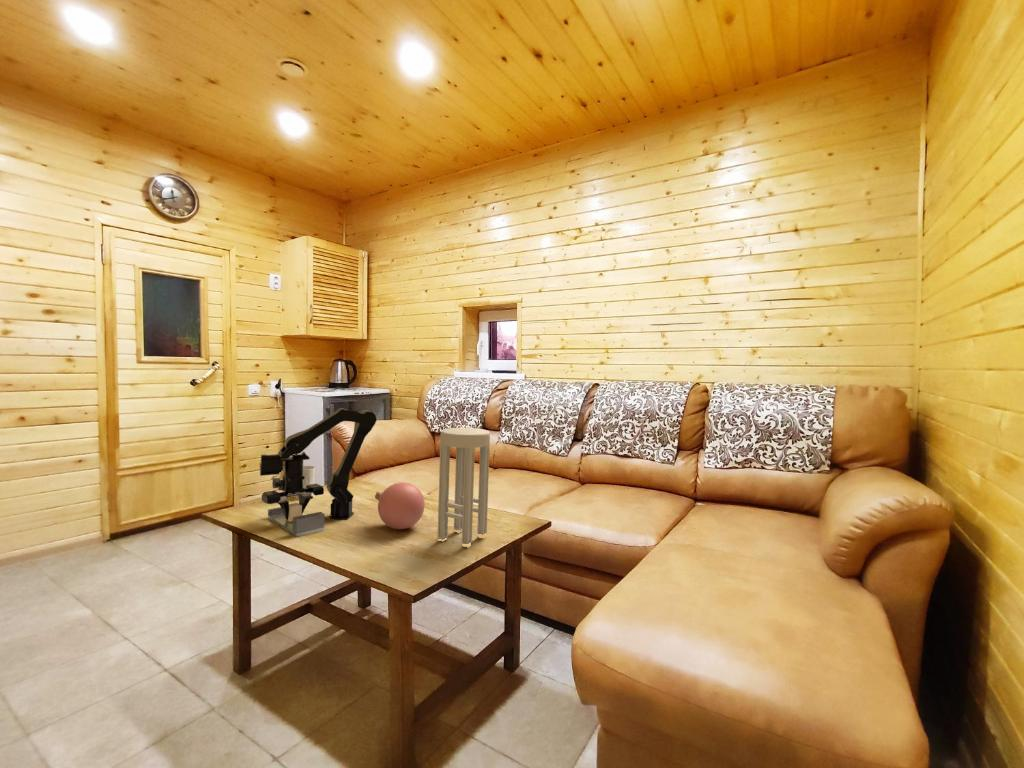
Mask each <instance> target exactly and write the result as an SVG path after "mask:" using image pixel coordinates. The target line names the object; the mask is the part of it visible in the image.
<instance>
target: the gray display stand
mask: <svg viewBox="0 0 1024 768" xmlns="http://www.w3.org/2000/svg"><path fill="white" fill-rule="evenodd" d="M267 519H268V520H270V521H272V522H273V523H275V524H276V525H277V526H279V527H281V528H282V529H283V530H285V531H286V532H288V533H289V534H291V535H293V536H294V537H295V538H298V537H302V536H306V535H310V534H311V535H312V534H314V533H315V534H316V533H319V532H324V531H325V513H323V512H322V511H317V512H313V513H309V514H307V513H306V514H302V516H297V517H293V521H291V522H289V521H288V520H286V519H285V516H284V514H283V511H282V509H281V507H280V506H279V507H275V508H269V509H267Z"/></svg>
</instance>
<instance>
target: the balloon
mask: <svg viewBox="0 0 1024 768" xmlns="http://www.w3.org/2000/svg"><path fill="white" fill-rule="evenodd" d="M374 498H375V500H376V501H378V503H377V512H378V515H379V518H380V520H381V521H382V522H383V523H384V525H385V526H388V527H389V528H392V529H393V530H406V529H409V528H412V527H413V526H414V525H416V524H417V523H418V522H419V521H420V520H421V518H422V517H423V515H424V511H425V507H426V503H425V498H424V495H423V493H422V491H421V490H420V489H419V488H418V487H417V486H416V485H414V484H412V483H410V482H402V481H401V482H397V483H393V484H391V485H390V486H388V487H387V488H386V489H384V490H383V491H382V492H380V491H376V492H375V495H374Z"/></svg>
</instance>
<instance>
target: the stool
mask: <svg viewBox="0 0 1024 768" xmlns="http://www.w3.org/2000/svg"><path fill="white" fill-rule="evenodd" d="M439 436H440V437H439V438H440V439H439V442H440V443H439V472H438V473H439V476H438V511H437V513H438V514H437V540H438V539H442V540H443V539H445V538H447V539H448V536H449V535H448V533H449V532H448V530H449V529H448V528H449V526H448V525H449V518H450V519H453V530H454V529H455V530H461V529H462V532H461V544H462V543H463V544H469V543H471V542H472V543H473V515H474V513H477V528H476V530H477V534H482V535H483V534H485V533H487V534H488V532H487V531H488V529H487V528H488V509H489V508H488V506H489V505H488V504H489V502H488V501H489V477H490V476H489V471H490V446H491V445H490V444H491V443H490V440H491V432H490V430H486V429H483V428H476V427H475V428H474V427H450V428H443V429H442V430H441V432H440V435H439ZM451 448H455V475H454V477H455V479H454V481H455V482H454V503H452V502H449V495H450V467H451V466H450V463H451V462H450V459H451V456H450V455H451ZM476 448H479V463H478V464H479V465H478V466H479V467H478V468H479V471H478V496H477V497H478V498H476V497H474V482H475V481H474V480H475V455H476V454H475V451H476ZM474 503H475V504H478V505H477V507H475V506H474ZM449 508H450V509H454V510H453V511H454V512H453V513H452V512H451V511H450V512H449ZM473 512H474V513H473ZM477 534H476V535H477Z"/></svg>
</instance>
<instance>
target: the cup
mask: <svg viewBox="0 0 1024 768" xmlns="http://www.w3.org/2000/svg"><path fill="white" fill-rule="evenodd" d="M315 475H316V466H315V465H303V476H305V479H303V488H306V486H307V485H310V484H315ZM297 493H299V492H297ZM311 496H313V497H314V494H313V493H312V494H311ZM295 499H296V500H299V497H298V495H297V496H295Z"/></svg>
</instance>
